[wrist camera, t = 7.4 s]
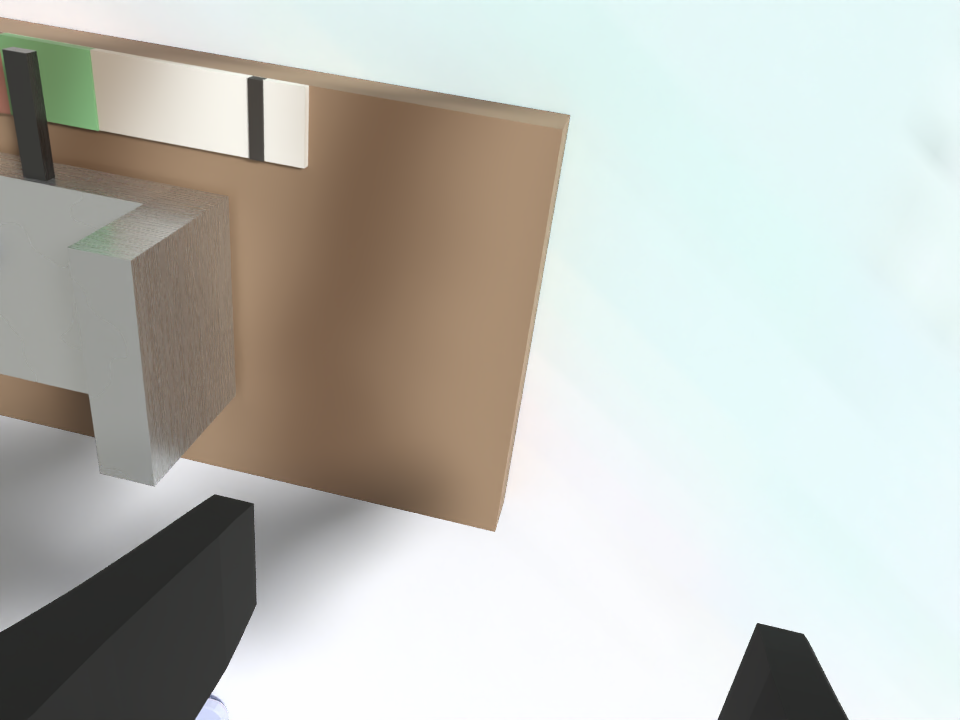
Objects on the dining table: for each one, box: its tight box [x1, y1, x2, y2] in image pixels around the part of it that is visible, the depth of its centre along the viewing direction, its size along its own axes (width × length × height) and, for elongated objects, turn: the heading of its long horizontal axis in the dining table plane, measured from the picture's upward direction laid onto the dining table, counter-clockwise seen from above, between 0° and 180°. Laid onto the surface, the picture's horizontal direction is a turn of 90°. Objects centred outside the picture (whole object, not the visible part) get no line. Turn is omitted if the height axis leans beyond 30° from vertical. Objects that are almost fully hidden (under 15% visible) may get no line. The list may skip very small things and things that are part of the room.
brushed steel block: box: [0, 47, 236, 486], centre depth 17 cm, size 8×8×4 cm
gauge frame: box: [0, 17, 570, 532], centre depth 18 cm, size 20×10×6 cm, turn 83°
